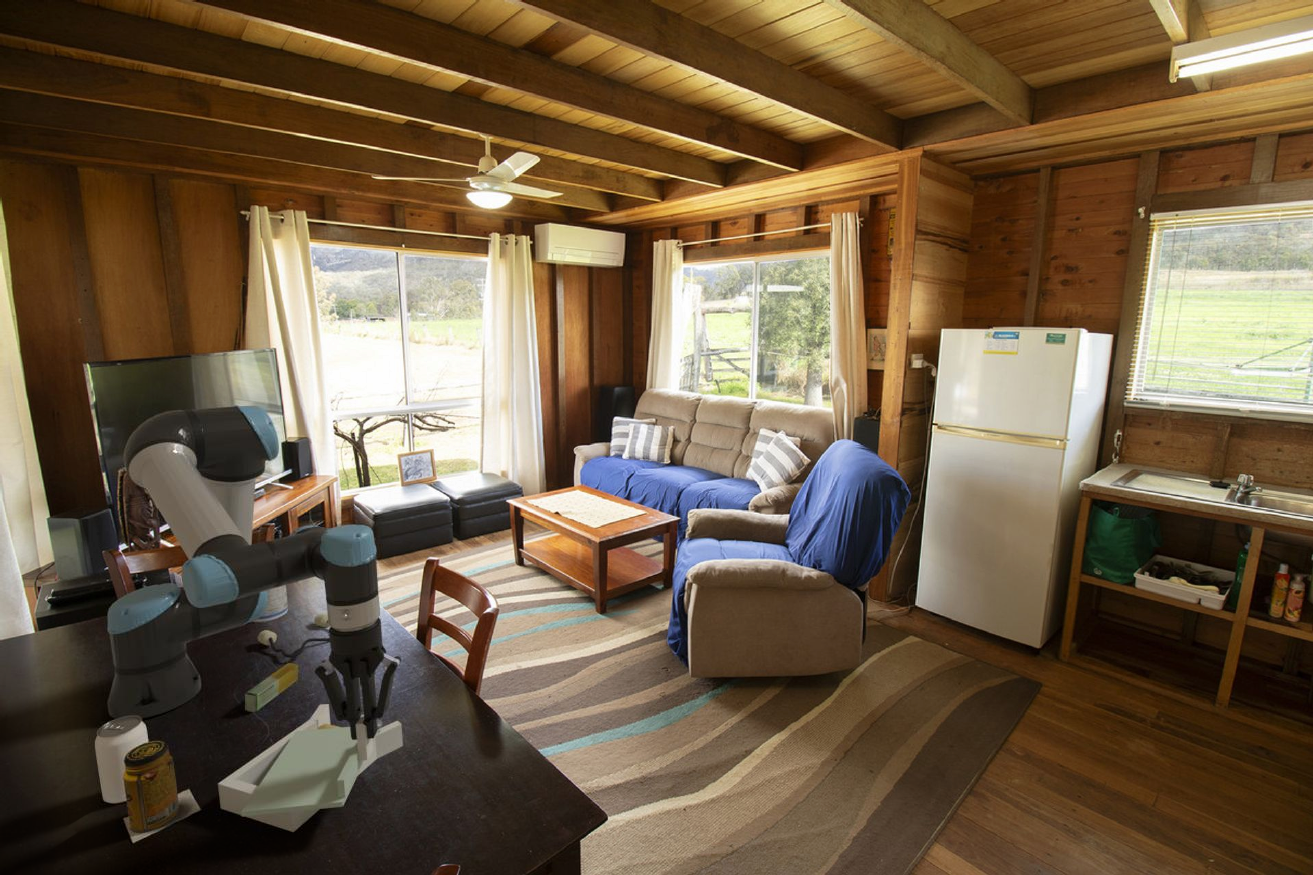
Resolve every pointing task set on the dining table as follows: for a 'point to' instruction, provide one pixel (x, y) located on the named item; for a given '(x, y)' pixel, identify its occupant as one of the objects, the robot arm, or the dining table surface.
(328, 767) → the cover
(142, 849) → the dining table surface
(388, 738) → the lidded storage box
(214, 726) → the dining table surface
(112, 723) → the can
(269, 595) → the supplement tub
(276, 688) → the medication box
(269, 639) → the cable
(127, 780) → the condiment
